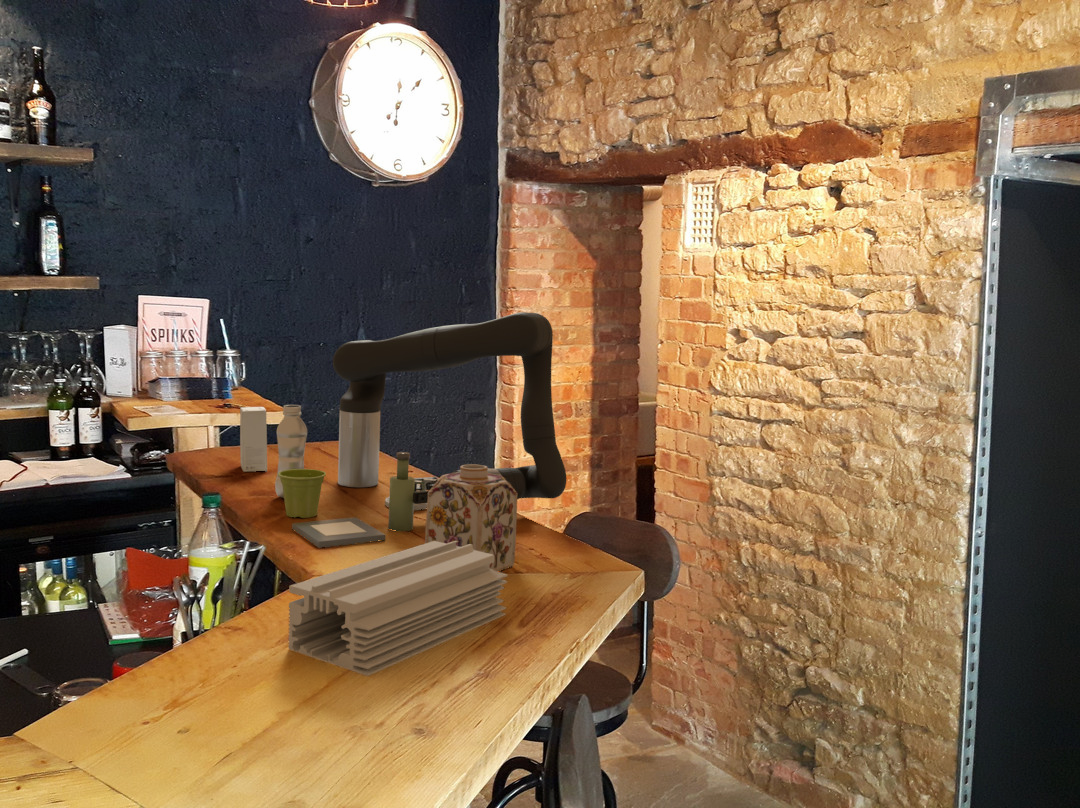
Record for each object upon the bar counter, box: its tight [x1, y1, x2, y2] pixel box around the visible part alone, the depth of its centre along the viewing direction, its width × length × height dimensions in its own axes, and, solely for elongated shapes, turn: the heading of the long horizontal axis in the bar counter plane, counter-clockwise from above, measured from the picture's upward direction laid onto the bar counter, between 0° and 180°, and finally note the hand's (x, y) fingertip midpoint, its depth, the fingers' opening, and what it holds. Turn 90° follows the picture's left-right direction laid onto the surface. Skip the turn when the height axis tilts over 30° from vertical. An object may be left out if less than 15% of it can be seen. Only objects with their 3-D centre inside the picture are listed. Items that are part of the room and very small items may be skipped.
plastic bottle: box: [274, 404, 308, 499], centre depth 224 cm, size 6×7×20 cm
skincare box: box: [239, 406, 268, 473], centre depth 252 cm, size 8×6×15 cm
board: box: [291, 516, 386, 549], centre depth 198 cm, size 14×13×1 cm
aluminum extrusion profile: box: [287, 541, 508, 677], centre depth 149 cm, size 14×31×10 cm, turn 147°
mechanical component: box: [384, 484, 427, 511], centre depth 224 cm, size 10×4×10 cm
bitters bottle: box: [388, 451, 416, 532], centre depth 204 cm, size 5×5×15 cm
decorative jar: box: [424, 463, 518, 572], centre depth 180 cm, size 12×12×18 cm
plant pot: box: [278, 468, 327, 519], centre depth 211 cm, size 9×9×9 cm
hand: (403, 493), depth 204 cm, fingers open, 8 cm apart
